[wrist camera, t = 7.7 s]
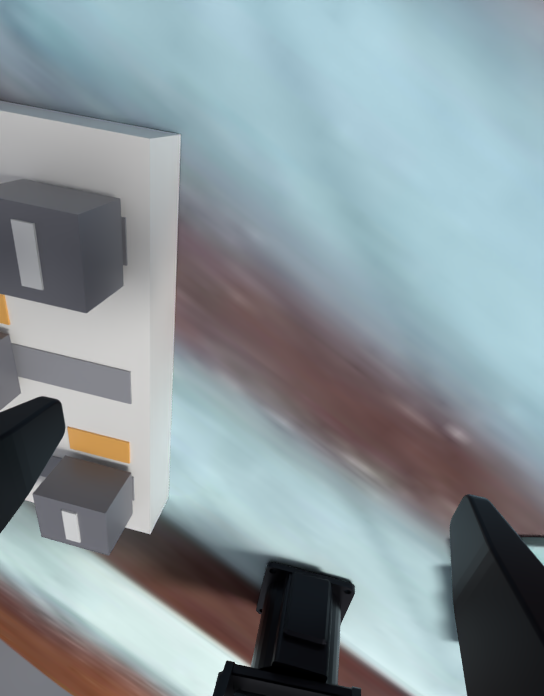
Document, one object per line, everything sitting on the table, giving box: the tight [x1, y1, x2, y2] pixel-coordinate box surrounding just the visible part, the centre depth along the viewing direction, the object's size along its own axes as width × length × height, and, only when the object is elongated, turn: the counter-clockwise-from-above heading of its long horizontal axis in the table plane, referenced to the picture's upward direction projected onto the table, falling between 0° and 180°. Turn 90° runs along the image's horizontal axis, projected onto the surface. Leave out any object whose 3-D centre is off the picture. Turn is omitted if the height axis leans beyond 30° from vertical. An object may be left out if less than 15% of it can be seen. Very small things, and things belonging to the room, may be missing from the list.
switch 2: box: [33, 455, 133, 555], centre depth 24 cm, size 4×4×3 cm
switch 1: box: [0, 179, 124, 313], centre depth 16 cm, size 4×4×3 cm
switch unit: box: [0, 101, 181, 534], centre depth 23 cm, size 23×14×3 cm, turn 171°
